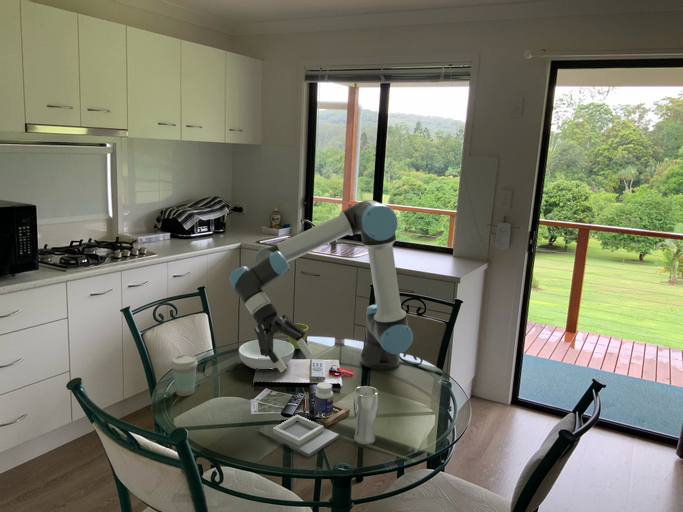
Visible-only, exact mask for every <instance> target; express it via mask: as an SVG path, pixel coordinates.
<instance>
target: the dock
mask: <svg viewBox="0 0 683 512" xmlns="http://www.w3.org/2000/svg"><path fill="white" fill-rule="evenodd" d="M294 415H295V416H293V417H291V418H290V419H288V420H286V421H284V422H282V423H281V424H279V425H277V426H275V427H273V435H272V437H273V439H272V440H273V441H276V442H278V443H279V444H282V443H284V444H286V445H288V446H289V447H288V446H287V447H288V448H290V449H292V450H294V451H296V452H298V453H300V454H302V455H303V456H306V457H308V458H310V457H312V456H313V455H315V454H316V453H318V452H319V451H320V450H323V449H324V448H325V447H327V446H328V445H330V444H331V443H333V442H334V441H336V440H338V439H339V437H340V434H339V433H336V432H334V431H333V430H329V429H327V428H325V427H324V426H323V425H320V424H318V423H316V422H314V421H311V420H309V419H307V418H305V417H302V416H300V415H298V413H297V414H294ZM296 421H299V422H297V423H295V422H296ZM284 444H283V445H284ZM286 445H285V446H286Z"/></svg>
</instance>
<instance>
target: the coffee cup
mask: <svg viewBox="0 0 683 512" xmlns="http://www.w3.org/2000/svg"><path fill="white" fill-rule="evenodd" d="M198 363H199V362H198V360H197V357H196V356H194V355H192V354H181V355H177V356H174V357H173V358H172V360H171V362H170V367H171V369H172V374H173V375H172V376H173V381H174V388H175V393H176V395H177V396H179V397H189V396H191V395H193V394H194V393H195V388H196V376H197V367H198V366H197V365H198Z"/></svg>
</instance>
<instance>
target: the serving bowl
mask: <svg viewBox="0 0 683 512" xmlns="http://www.w3.org/2000/svg"><path fill="white" fill-rule="evenodd" d="M275 350H276V351H277V353H278V354H279V356H280V358H281V359H282V361H283V362H284V364H285V365H286V366H287V365H288V363H289V362H290V361H291V360H292V359H293V356H294V355H295V354H294V353H295V349H294V346H293V345H292V344H290V343H289V341H285V340H280V339H275V338H273V352H274V351H275ZM238 355H239V358H240V360H241V361H242V363H243V364H244V365H246V366H247V367H249V368H251V369H254V370H257V369H256V368H259V369H270V368H277V366H276V365H275V363H273V362H272V361H271V359H258V358H270V357H269V356H267V357H266V356H265V355H261V352H260V347H259V343H258V339H254V340H250V341H247V342H245V343H243V344H242V345H240V346H239V348H238ZM259 369H258V370H259ZM277 369H278V368H277Z"/></svg>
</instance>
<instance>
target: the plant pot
mask: <svg viewBox="0 0 683 512" xmlns="http://www.w3.org/2000/svg"><path fill="white" fill-rule="evenodd" d="M295 324H296V325H297V326H298V327H299V328H301V329H302V330H303V331H304V332H305V333H306V334H305V336H304V337H303V338H304V340H305V341H306V336H307V331H308V330H309V326H308V325H306V324H304V323H295ZM300 334H301V333H300ZM287 340H288V342H289V343H290V344H292V345H293V346H294V350H296V349H297V350H301V349H300V347H299V346H298V344H297V343H296V342H298V341H297V340H295V339H293V338H291V337H289V336H288V335H287Z"/></svg>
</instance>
